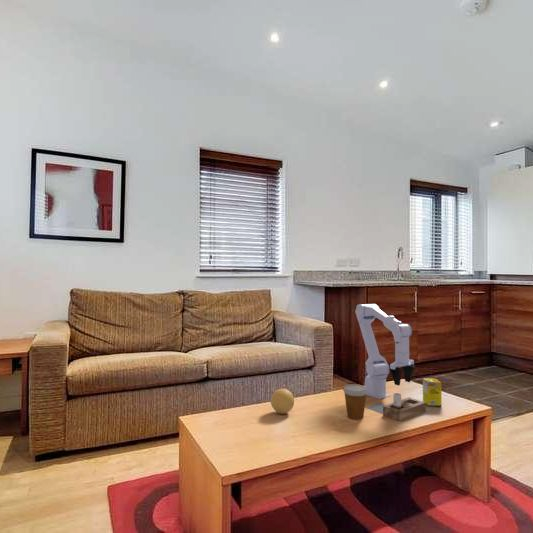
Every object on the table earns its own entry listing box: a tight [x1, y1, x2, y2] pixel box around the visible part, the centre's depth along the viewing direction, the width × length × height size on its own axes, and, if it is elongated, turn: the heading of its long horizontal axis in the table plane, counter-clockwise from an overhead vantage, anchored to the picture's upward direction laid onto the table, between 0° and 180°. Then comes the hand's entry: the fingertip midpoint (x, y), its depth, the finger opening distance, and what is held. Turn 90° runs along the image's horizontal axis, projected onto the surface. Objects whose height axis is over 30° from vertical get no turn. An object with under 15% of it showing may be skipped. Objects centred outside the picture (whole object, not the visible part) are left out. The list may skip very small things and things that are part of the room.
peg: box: [392, 392, 402, 409], centre depth 152 cm, size 3×3×9 cm
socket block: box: [382, 397, 427, 422], centre depth 155 cm, size 8×18×4 cm, turn 126°
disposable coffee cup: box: [343, 383, 367, 420], centre depth 152 cm, size 10×10×12 cm
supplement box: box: [422, 378, 442, 408], centre depth 166 cm, size 6×6×11 cm
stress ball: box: [270, 388, 295, 415], centre depth 157 cm, size 10×10×10 cm
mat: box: [364, 402, 386, 415], centre depth 161 cm, size 9×10×1 cm
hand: (402, 383), depth 163 cm, fingers open, 7 cm apart
